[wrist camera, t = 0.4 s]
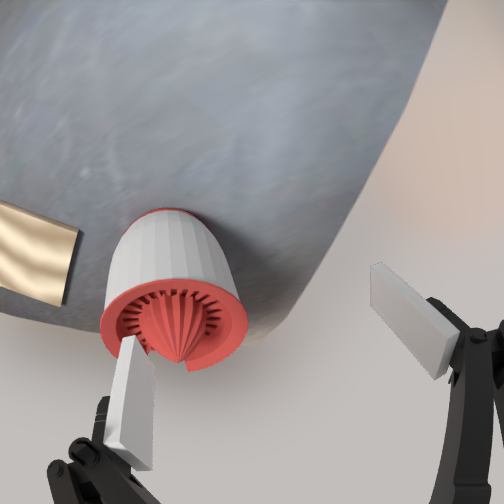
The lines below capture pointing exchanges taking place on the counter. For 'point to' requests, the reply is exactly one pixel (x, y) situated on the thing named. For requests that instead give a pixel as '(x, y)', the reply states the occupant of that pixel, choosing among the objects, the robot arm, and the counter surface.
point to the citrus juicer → (173, 292)
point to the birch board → (34, 253)
